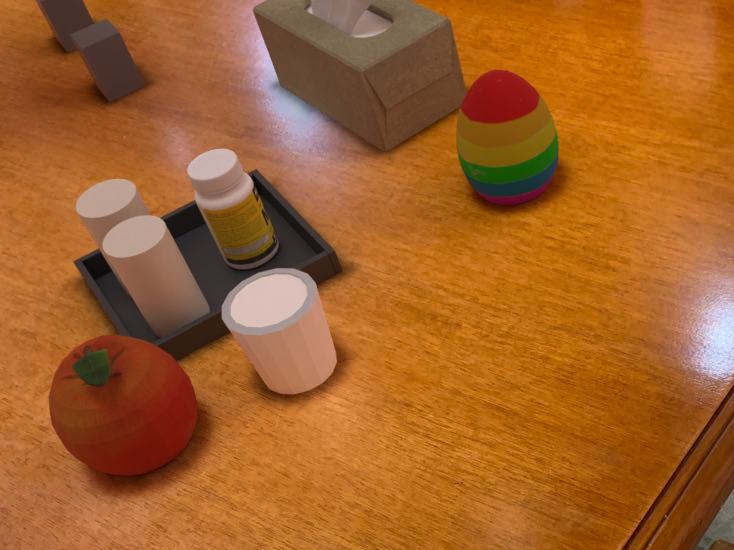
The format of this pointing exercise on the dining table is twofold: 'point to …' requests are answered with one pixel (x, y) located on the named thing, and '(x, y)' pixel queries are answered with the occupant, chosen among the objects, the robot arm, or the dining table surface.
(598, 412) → the dining table surface
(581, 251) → the dining table surface
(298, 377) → the white cup
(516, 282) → the dining table surface
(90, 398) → the fruit
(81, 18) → the grey block left
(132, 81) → the grey block right
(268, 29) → the tissue box
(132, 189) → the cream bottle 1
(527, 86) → the decorative egg
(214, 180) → the supplement bottle
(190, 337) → the tray
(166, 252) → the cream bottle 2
